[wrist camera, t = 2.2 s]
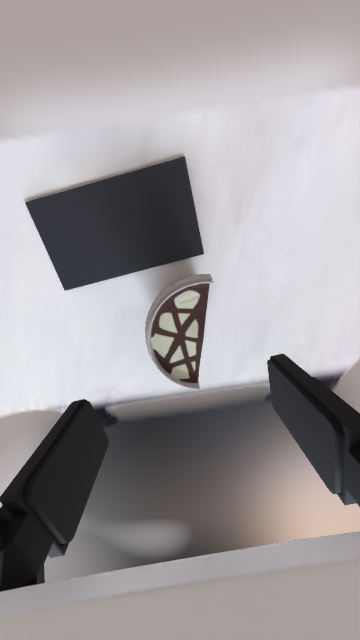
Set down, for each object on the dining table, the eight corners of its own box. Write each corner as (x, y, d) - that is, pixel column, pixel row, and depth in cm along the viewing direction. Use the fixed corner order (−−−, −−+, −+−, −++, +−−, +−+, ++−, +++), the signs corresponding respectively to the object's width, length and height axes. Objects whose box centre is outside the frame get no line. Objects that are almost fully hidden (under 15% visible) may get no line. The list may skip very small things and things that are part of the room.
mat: (65, 290, 25) (64, 290, 25) (26, 203, 22) (24, 202, 21) (203, 253, 24) (203, 253, 24) (184, 157, 21) (184, 156, 20)
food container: (154, 268, 24) (142, 269, 15) (198, 271, 25) (214, 275, 15) (152, 348, 28) (141, 391, 18) (190, 350, 28) (199, 393, 19)
